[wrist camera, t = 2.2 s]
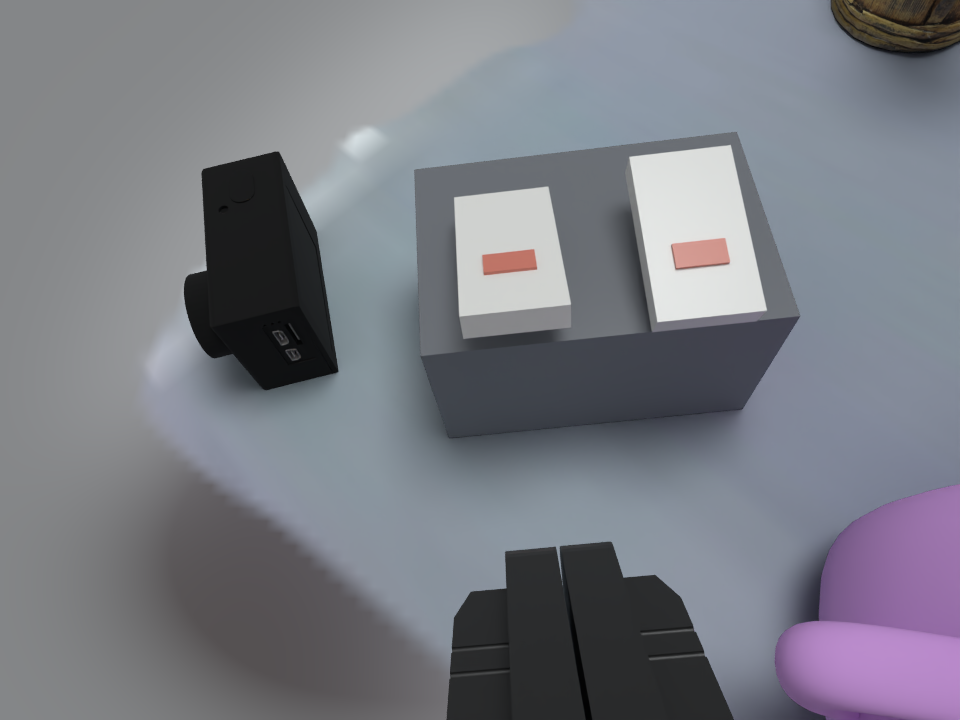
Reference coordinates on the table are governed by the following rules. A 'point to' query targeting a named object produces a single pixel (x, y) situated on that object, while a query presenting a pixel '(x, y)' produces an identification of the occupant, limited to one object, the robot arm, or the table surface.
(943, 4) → the wooden mug
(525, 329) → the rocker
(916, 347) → the table surface
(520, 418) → the switch box
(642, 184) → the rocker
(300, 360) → the digital camera
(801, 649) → the teapot
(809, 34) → the table surface
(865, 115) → the table surface
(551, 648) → the robot arm
